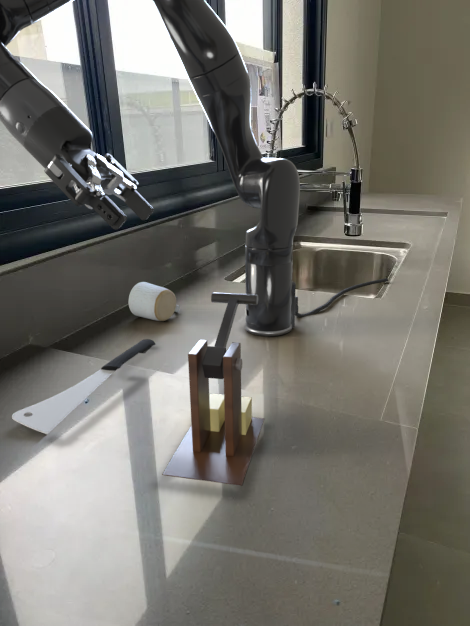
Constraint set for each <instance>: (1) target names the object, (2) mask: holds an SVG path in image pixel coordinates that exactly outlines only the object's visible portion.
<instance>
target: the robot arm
mask: <svg viewBox="0 0 470 626" xmlns="http://www.w3.org/2000/svg"><path fill="white" fill-rule="evenodd" d="M73 1H74V0H0V122H1V123H2V125H3V126H4V127H5V129H6V130H7V131H8V133H9V134H10V135H11V136H12V137H13V138H14V139H15V140H16V141H17V142H18V143H19V144H20V145H21V146H22V147H23V149H25V150H26V151H27V152H28V153H29V154H30V155H31V156H32V158H34V159H35V160H36V162H37V163H39V165H40V166H42V168H44V170H43V171H44V174H46V176H47V177H48V178H49V179H50V180H51V181H52V182H53V183H54V184H55V186H57V187H58V188H59V189H60V191H62V193H63V194H64V195H65V196H66V197H67V198H68V199H69V201H71V202H72V204H73V205H75V206H76V207H78V208H82V206H83V205H84V206H85V207H86V208H87V209H89V210H94V211H95V212H96V213H97V214H98V215H99V217H101V218H102V220H103V221H104V222H105V223H107V225H109V226H110V227H111V229H112V230H119V229H121V227H122V226H123V225H124V224H125V223H126V222H127V221H128V216H127V214H126V213H125V212H124V211H123V210H122V209H121V208H119V206H118V205H117V204H116V203H115V202H114V201H113V200H112V199H111V198H110V197H109V196H112V195H113V196H115V197H117V198H118V199H120V200H121V201H123V202H124V204H125V205H126V206H128V208H129V209H130V210H131V211H132V212H133V213H134V214H135V215H136V216H137V217H138V218H139V219H140V220H141V221H146V220H148V219H149V218H150V217H151V215H152V214H153V213H154V212H155V209H154V207H153V206H152V204H150V203H149V201H147V200H146V198H144V197H143V196H142V194H140V192H138V190H137V189H138V186H139V185H140V183H139V182H138V180H137V179H136V178H135V177H134V176H132V174H131V173H130V172H128V171H127V169H126V168H125V167H124V166H123V165H121V163H119V162H118V161H117V160H116V159H115V157H113V155H112V154H110V153H108V152H107V153H105V155H104V156H102V155H100V154H98V153H96V152H95V151H93V150H92V143H93V132H92V131H91V130H90V129H89V127H88V126H87V125H85V124H84V123H83V121H82V120H81V119H80V118H79V117H78V116H77V115H76V114H75V113H74V112H73V111H72V110H71V109H70V108H69V107H68V106H67V105H66V104H65V103H64V102H63V101H62V100H61V99H60V98H59V97H58V96H57V94H55V92H53V90H51V89H49V88H48V87H47V86H46V85H44V84H43V83H42V82H41V81H40V80H39V79H38V78H37V77H36V75H34V74H33V72H31V71H30V70H29V69H28V68H27V67H26V66H25V65H24V64H23V63H22V61H20V60H19V59H18V58H17V57H16V56H15V55H14V54H12V52H11V51H10V50H9V49H8V48H7V46H8V45H9V44H10V43H11V42H12V41H14V39H15V38H16V37H17V35H19V34H20V32H21V31H22V30H24V29H25V28H28V27H30V26H32V25H34V24H36V23H38V22H39V21H41V20H43V19H45V18H47V17H49V16H51V15H52V14H54V13H55V12H57V11H59V10H61V9H62V8H64V7H65V6H67V5H69V4H71V3H72V2H73ZM152 2H153V4H154V6H155V7H156V10H157V12H158V14H159V16H160V18H161V20H162V23H163V25H164V28H165V29H166V32H167V34H168V36H169V39H170V41H171V43H172V45H173V47H174V49H175V52H176V54H177V56H178V58H179V60H180V63H181V65H182V67H183V69H184V72H185V75H186V76H187V79H188V81H189V83H190V85H191V87H192V89H193V91H194V94H195V95H196V98H197V100H198V101H199V104H200V106H201V107H202V110H203V112H204V113H205V116H206V118H207V120H208V122H209V126H210V127H211V129H212V132H213V134H214V137H215V138H216V140H217V143H218V145H219V147H220V149H221V152H222V155H223V157H224V160H225V163H226V166H227V169H228V172H229V175H230V178H231V180H232V183H233V186H234V188H235V190H236V193H237V195H238V196H239V198H240V200H241V201H242V202H243V203H244V204H245V205H247V206H248V207H251V208H254V209H260V212H259V221H258V223H257V224H256V225H255V226H253V227H251V228H248V229H247V230H246V231H245V233H244V234H245V235H244V257H245V258H244V260H245V263H244V264H245V268H244V269H245V270H244V271H245V272H244V273H245V294H254V295H258V304H257V305H249V304H245V308H244V314H245V323H244V325H245V326H244V327H245V330H246V332H248V333H249V334H252V335H255V336H260V337H261V336H262V337H277V336H283V335H286V334H288V333H290V332H291V331H292V330H293V329H294V328H295V327H296V318H304V317H308V316H312V315H315V314H318V313H319V312H322V311H323V310H324V309H327V308H328V307H329V306H331V304H332V303H333V302H334V301H335V300H337V299H338V298H340V297H341V296H343V295H344V294H346V293H348V292H351V291H353V290H356V289H359V288H363V287H364V288H365V287H367V286H371V285H372V286H373V285H376V284H380V283H386V282H389V278H388V277H385V278H381V279H375V280H370V281H366V282H362V283H359V284H355V285H352V286H349V287H346V288H344V289H342V290H340V291H339V292H337V293H336V294H334V295H333V296H332V297H331V298H330V299H328V301H327V302H325V303H324V304H322V305H321V306H318V307H317V308H315V309H313V310H311V311H309V312H306V313H300V312H299V297H298V296H297V295H296V290H297V289H296V285H297V284H296V282H295V281H293V264H294V262H293V259H294V257H293V256H294V255H293V254H294V237H295V234H296V231H297V228H298V222H299V208H300V196H301V195H300V194H301V179H300V175H299V171H298V169H297V167H296V165H295V164H294V163H293V162H292V161H291V160H289V159H286V158H281V157H279V158H277V157H264V155H263V154H262V152H261V150H260V148H259V145H258V143H257V141H256V139H255V136H254V133H253V130H252V126H251V111H252V109H251V108H252V84H251V79H250V75H249V72H248V70H247V67H246V64H245V61H244V60H243V57H242V54H241V52H240V49H239V47H238V45H237V43H236V41H235V39H234V36H233V35H232V33H231V32H230V31H229V29H228V28H227V26H226V25H225V24H224V22H223V21H222V20H221V18H220V17H219V16H218V15H217V14H216V12H215V11H214V10H213V9H212V7H211V6H210V5H209V3H207V1H206V0H152ZM73 188H74V190H73Z"/></svg>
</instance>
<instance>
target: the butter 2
mask: <svg viewBox="0 0 470 626" xmlns="http://www.w3.org/2000/svg"><path fill="white" fill-rule="evenodd" d="M252 404H253V397H251V396H242V395H241V411H242V435H246V433H247V430H248V427H249V425H250V422H251V420H252V417H253V405H252Z"/></svg>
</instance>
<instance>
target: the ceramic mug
mask: <svg viewBox="0 0 470 626" xmlns="http://www.w3.org/2000/svg"><path fill="white" fill-rule="evenodd" d="M128 307H129V311H130V312H131V313H132V315H134V316H136V317H141V318H143V319H147V320H148V319H149V320H153V321H157V322H164V321H165V322H166V321H168V320H170V318H172V317H173V315H174V313H179V312H180V309H181V308H180V307H181V306H180V305H179V304H177V298H176V295H175V293H174V292H173V291H172V290H170V289H169V288H167V287H164V286H159V285H156V284H153V283H150V282H146V281H140V282H138V283H136V284H135V285H134V286H133V287H132V289H131V290H130V292H129V296H128Z"/></svg>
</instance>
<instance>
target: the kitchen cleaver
mask: <svg viewBox="0 0 470 626" xmlns="http://www.w3.org/2000/svg"><path fill="white" fill-rule="evenodd" d="M155 345H156V343H155V341H154V340H153V339H150V338H144V339H141V340H140V341H139V342H137V343H135V344H134V345H133V346H131V347H129V348H128V349H127V350H125V351H124V352H122V353H120V354H119V355H118V356H116V357H114V358H113V359H111V360H110V361H109V362H107V363H106V364H104V365H103V366H102V367H101V368H100V369H99V370H97V371H95V372H93V373H92V374H91V375H89V376H88V377H86V378H84V379H82V380H81V381H79V382H78V383H76V384H74V385H72V386H71V387H69V388H67V389H65V390H62V391H61V392H59V393H57V394H54V395H53V396H51V397H48V398H46V399H44V400H42V401H39V402H37V403H34V404H32V405H29V406H26V407H24V408H23V409H22V408H21V409H19V410H17V411H15V412H13V414H12V415H11V418H12V420H13V421H14V422H16V423H18V424H20V425H22V426H24V427H27V428H29V429H32V430H33V431H36V432H39V433H42V434H45V435H48V434H50V432H52V431H53V430H54V429H55V428H56V427H57V426H58V425H59V424H60V423H61V422H62V421H63V420H64V419H65V418H66V417H68V416H69V415H70V414H71V413H72V412H73V411H74V410H75V409H76V408H78V406H79V405H81V403H83V402H84V401H85V400H86V399H87V398H88V397H89V396H90V395H91V394H92V393H94V392H95V390H97V389H98V388H99V387H100V386H101V385H102V384H103V383H104V382H105V381H107V379H108V378H109V377H111V376H112V375H113V374H114V373H115V372H116V371H117V370H119V369H121V367H122V366H123V365H124V364H125V363H126V362H128V361H129V360H130V359H132V358H133V357H135V356H137V355H138V354H146V353H147V352H148V351H149V350H150V349H152V347H154V346H155ZM26 415H29V416H26Z"/></svg>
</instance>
